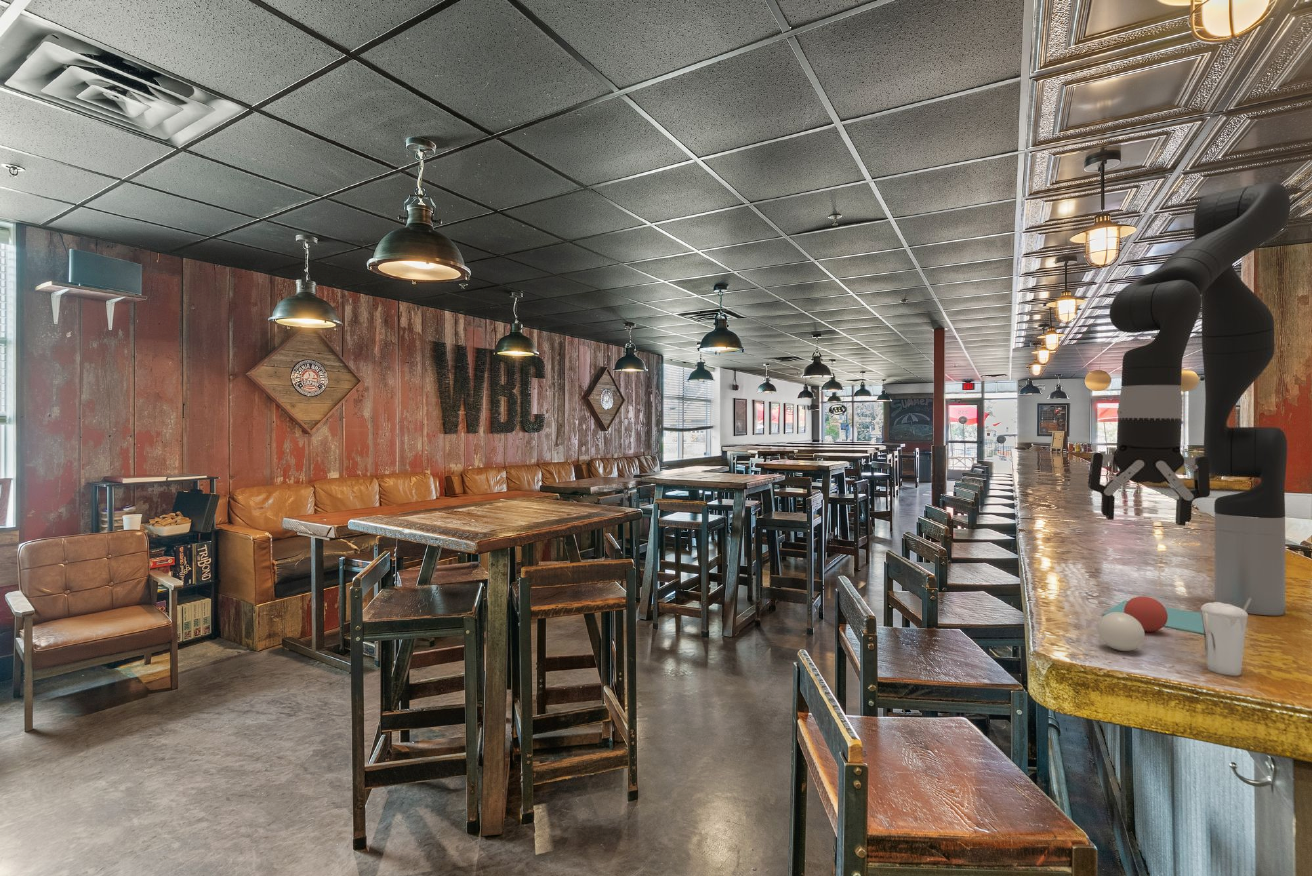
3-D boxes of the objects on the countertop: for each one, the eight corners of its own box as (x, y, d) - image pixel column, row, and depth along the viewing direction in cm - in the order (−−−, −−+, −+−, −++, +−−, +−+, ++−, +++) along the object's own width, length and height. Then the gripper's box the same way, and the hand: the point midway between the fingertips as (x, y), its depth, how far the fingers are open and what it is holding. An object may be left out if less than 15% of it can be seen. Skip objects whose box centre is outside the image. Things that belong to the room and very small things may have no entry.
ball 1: (1108, 641, 92) (1108, 605, 92) (1151, 652, 87) (1151, 614, 87) (1090, 647, 90) (1090, 610, 90) (1133, 659, 85) (1133, 620, 85)
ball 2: (1133, 623, 101) (1133, 590, 101) (1174, 632, 96) (1174, 598, 96) (1117, 628, 98) (1117, 595, 98) (1158, 638, 94) (1158, 603, 94)
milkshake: (1264, 679, 78) (1264, 602, 78) (1216, 676, 79) (1216, 600, 79) (1238, 666, 82) (1238, 593, 82) (1192, 663, 83) (1192, 591, 83)
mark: (1124, 601, 115) (1124, 600, 115) (1224, 618, 104) (1224, 617, 104) (1102, 615, 106) (1102, 613, 106) (1209, 635, 95) (1209, 633, 95)
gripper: (1095, 415, 91) (1091, 521, 92) (1219, 416, 84) (1214, 530, 85) (1088, 415, 98) (1084, 514, 99) (1202, 417, 91) (1197, 523, 92)
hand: (1144, 521), depth 92 cm, fingers open, 8 cm apart
